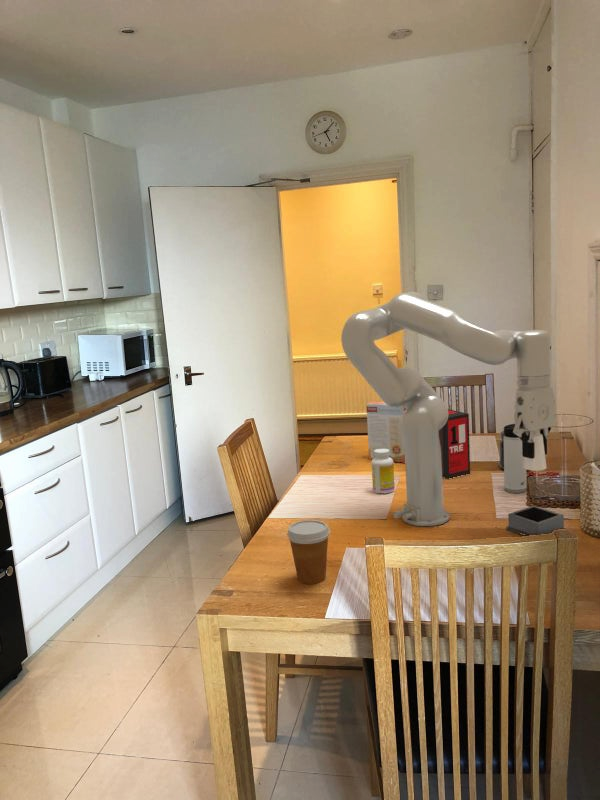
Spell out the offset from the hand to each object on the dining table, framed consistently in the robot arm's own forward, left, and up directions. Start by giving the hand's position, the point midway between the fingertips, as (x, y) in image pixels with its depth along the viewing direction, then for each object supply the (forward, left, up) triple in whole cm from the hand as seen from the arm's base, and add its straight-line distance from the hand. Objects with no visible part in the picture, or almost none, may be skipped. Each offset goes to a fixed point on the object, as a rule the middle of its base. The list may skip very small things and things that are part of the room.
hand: (534, 454), depth 163 cm
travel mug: (+20, +24, -20) cm, 37 cm away
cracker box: (+14, +76, -20) cm, 79 cm away
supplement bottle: (-9, +50, -20) cm, 54 cm away
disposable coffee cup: (-58, +13, -20) cm, 63 cm away
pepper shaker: (0, 0, -3) cm, 3 cm away
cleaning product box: (+18, +53, -20) cm, 59 cm away
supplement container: (+37, +39, -20) cm, 57 cm away
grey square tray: (0, 0, -19) cm, 19 cm away
